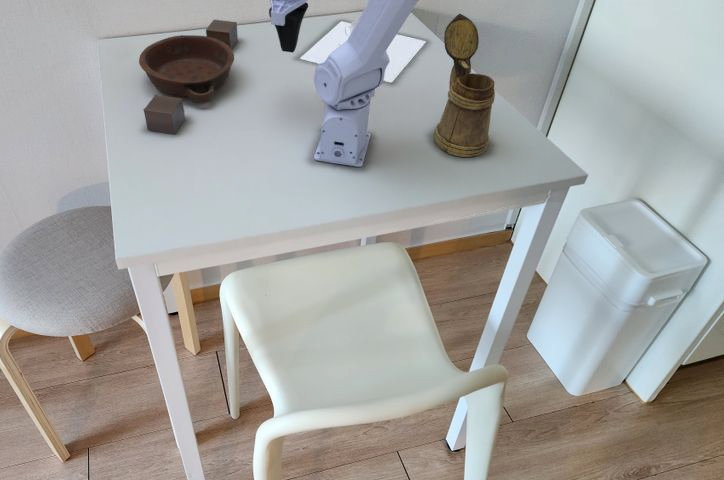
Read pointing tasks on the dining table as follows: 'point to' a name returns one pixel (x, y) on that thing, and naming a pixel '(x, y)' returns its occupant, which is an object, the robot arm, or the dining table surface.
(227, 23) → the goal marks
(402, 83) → the dining table surface
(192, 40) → the dish
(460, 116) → the wooden mug
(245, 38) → the dining table surface
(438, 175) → the dining table surface
